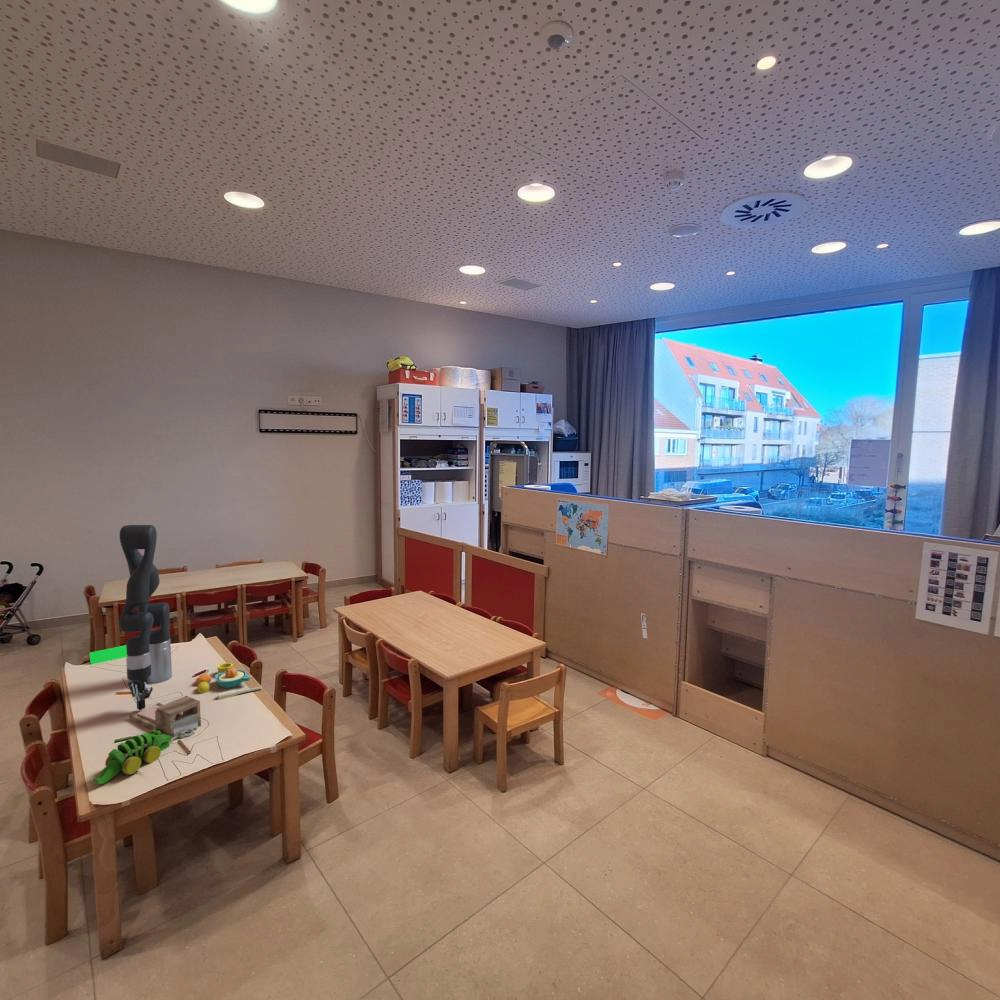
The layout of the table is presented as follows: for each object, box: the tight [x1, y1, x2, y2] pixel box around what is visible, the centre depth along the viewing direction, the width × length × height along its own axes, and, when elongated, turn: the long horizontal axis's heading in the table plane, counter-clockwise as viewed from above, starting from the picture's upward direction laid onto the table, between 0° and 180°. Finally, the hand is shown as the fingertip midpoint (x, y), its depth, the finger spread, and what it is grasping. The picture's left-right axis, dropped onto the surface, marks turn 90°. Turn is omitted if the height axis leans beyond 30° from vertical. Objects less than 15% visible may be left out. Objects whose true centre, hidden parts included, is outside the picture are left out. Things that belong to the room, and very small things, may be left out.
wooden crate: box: [128, 695, 202, 738], centre depth 190 cm, size 26×10×9 cm, turn 62°
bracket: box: [88, 644, 127, 665], centre depth 243 cm, size 20×10×7 cm, turn 132°
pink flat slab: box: [136, 704, 178, 724], centre depth 192 cm, size 12×7×3 cm, turn 66°
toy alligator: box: [92, 729, 196, 785], centre depth 170 cm, size 10×32×9 cm, turn 159°
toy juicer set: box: [195, 662, 263, 700], centre depth 217 cm, size 29×18×8 cm, turn 54°
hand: (141, 708), depth 197 cm, fingers closed
